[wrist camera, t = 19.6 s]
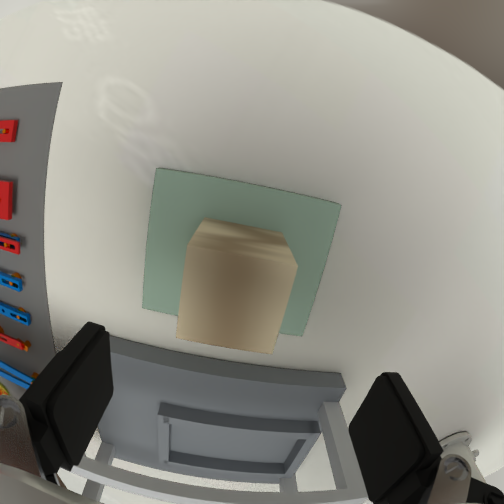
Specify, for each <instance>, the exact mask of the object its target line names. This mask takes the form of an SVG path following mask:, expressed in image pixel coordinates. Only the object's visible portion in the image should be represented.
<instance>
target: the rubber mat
mask: <svg viewBox="0 0 504 504" xmlns="http://www.w3.org/2000/svg"><path fill="white" fill-rule="evenodd" d="M340 209H341V205H340V204H338V203H335V202H331V201H327V200H323V199H318V198H314V197H310V196H306V195H301V194H297V193H293V192H288V191H284V190H279V189H274V188H270V187H265V186H260V185H255V184H250V183H245V182H240V181H235V180H229V179H224V178H218V177H213V176H207V175H201V174H196V173H189V172H183V171H177V170H170V169H164V168H156V173H155V180H154V186H153V193H152V201H151V209H150V217H149V226H148V235H147V245H146V256H145V269H144V285H143V304H142V308H144V309H148V310H153V311H157V312H162V313H166V314H171V315H176V316H178V313H179V304H180V295H181V287H182V279H183V271H184V264H185V257H186V250H187V245H188V243H189V241H190V240H191V238H192V236H193V235H194V233H195V232H196V230H197V228H198V227H199V225H200V224H201V222H202V220H203V219H204V217H206V218H211V219H217V220H222V221H227V222H232V223H237V224H242V225H247V226H253V227H258V228H263V229H267V230H272V231H277V232H282V233H283V235H284V238H285V240H286V242H287V244H288V246H289V248H290V250H291V252H292V254H293V256H294V259H295V261H296V263H297V265H298V269H297V272H296V276H295V279H294V283H293V286H292V290H291V293H290V297H289V300H288V304H287V307H286V310H285V314H284V317H283V320H282V324H281V327H280V330H279V333H281V334H288V335H296V336H302V335H303V332H304V329H305V326H306V324H307V321H308V318H309V315H310V312H311V308H312V305H313V302H314V299H315V296H316V293H317V290H318V286H319V283H320V280H321V277H322V273H323V270H324V267H325V263H326V260H327V257H328V253H329V250H330V246H331V243H332V239H333V235H334V232H335V228H336V224H337V221H338V217H339V213H340Z"/></svg>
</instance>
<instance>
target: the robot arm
mask: <svg viewBox="0 0 504 504" xmlns="http://www.w3.org/2000/svg"><path fill="white" fill-rule="evenodd" d="M113 391H114V386H113V377H112V366H111V353H110V336H109V332H107V331H105V327H104V326H102V325H99V324H95V323H92V322H87V323H86V324H85V325H84V326H83V327H82V329H81V330H80V331H79V332H78V333H77V334H76V335H75V336H74V338H73V339H72V340H71V341H70V342H69V343H68V344H67V346H66V347H65V348H64V349H63V350H62V351H60V352H58V353H57V354H56V355H55V356H54V357H53V359H52V360H51V361H50V362H49V363H48V364H47V366H46V367H45V368H44V369H43V370H42V372H41V373H40V374H39V375H38V376H37V378H36V379H35V380H34V381H33V383H32V384H31V385H30V386H29V388H28V389H27V390H26V391H25V393H24V394H23V395H22V396H21V398H20V399H19V400H18V399H16V398H15V397H12V396H9V395H0V504H104V503H101V502H98V501H95V500H93V499H90V498H87V497H85V496H82V495H80V494H77V493H75V492H73V491H70V490H68V489H66V488H63V487H61V486H60V484H59V481H58V478H57V476H56V473H57V472H58V470H59V468H60V467H61V468H63V469H65V470H68V471H70V472H71V470H72V468H73V466H78V465H79V463H80V462H81V459H82V457H83V455H84V453H85V451H86V449H87V447H88V444H89V442H90V440H91V438H92V436H93V434H94V432H95V430H96V428H97V426H98V424H99V422H100V420H101V418H102V416H103V414H104V412H105V410H106V408H107V406H108V404H109V402H110V400H111V398H112V396H113ZM349 435H350V438H351V441H352V445H353V448H354V451H355V454H356V457H357V461H358V464H359V467H360V471H361V474H362V477H363V481H364V484H365V488H366V491H367V494H368V498H369V500H370V501H371V502H373V504H504V494H503V493H502V492H501V491H500V490H499V489H498V488H496V487H494V486H491V485H488V484H487V483H486V481H485V479H484V478H483V476H482V474H481V472H480V470H479V469H478V467H477V465H476V463H475V461H476V458H475V457H477V456H478V455H479V450H474V451H472V452H471V450H470V448H469V447H468V446H469V445H470V442H471V436H470V435H469V433H467V432H461V433H457V434H455V435H452V436H450V437H448V438H446V439H444V440H442V441H440V442H439V441H438V439H437V437H436V436H435V434H434V432H433V430H432V429H431V427H430V425H429V423H428V421H427V420H426V418H425V416H424V415H423V413H422V411H421V409H420V408H419V406H418V404H417V403H416V401H415V399H414V397H413V396H412V394H411V392H410V391H409V389H408V387H407V386H406V384H405V382H404V381H403V379H402V378H401V376H400V374H399V373H396V372H384V373H382V374H381V375H380V376H378V377H377V378H376V380H375V381H374V383H373V385H372V387H371V389H370V390H369V392H368V394H367V396H366V398H365V399H364V401H363V403H362V404H361V406H360V408H359V410H358V411H357V413H356V415H355V416H354V418H353V419H352V421H351V423H350V425H349Z"/></svg>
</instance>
